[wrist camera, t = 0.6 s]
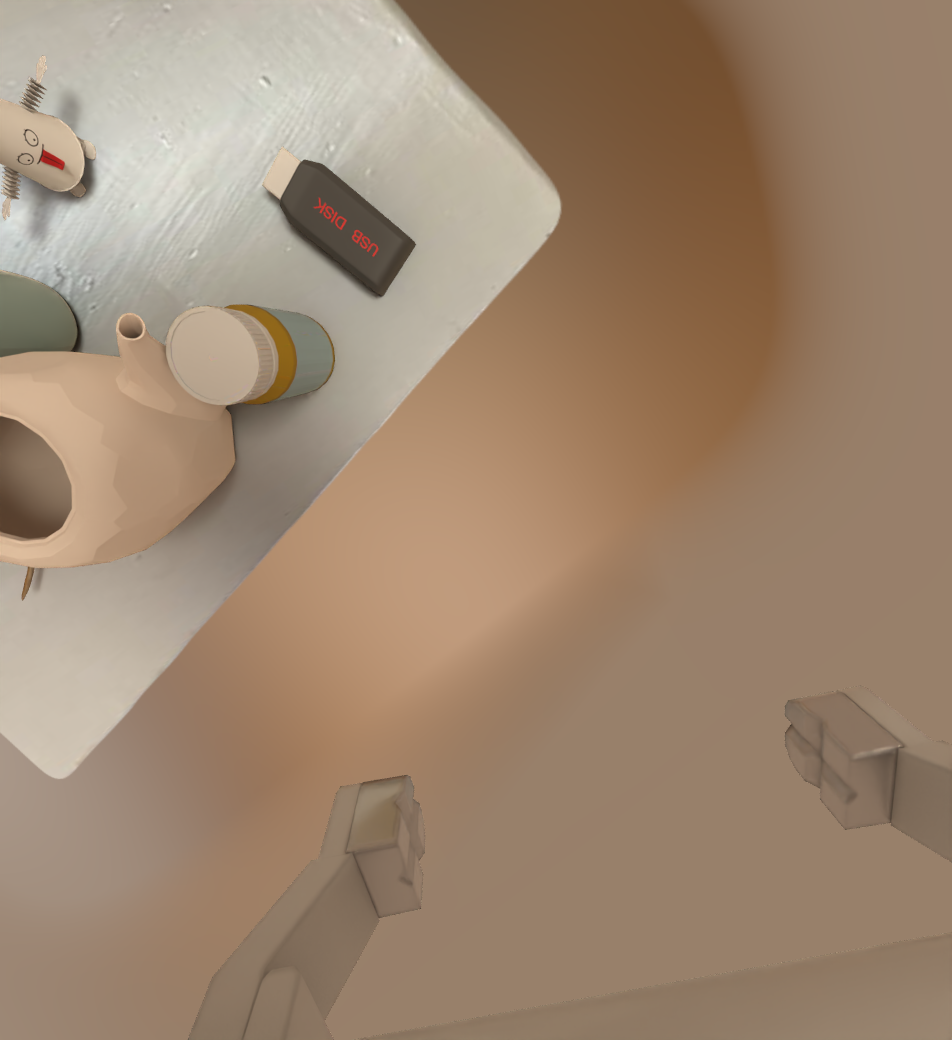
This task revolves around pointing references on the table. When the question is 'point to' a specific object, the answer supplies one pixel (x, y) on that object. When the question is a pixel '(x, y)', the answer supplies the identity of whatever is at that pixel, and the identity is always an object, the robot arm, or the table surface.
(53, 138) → the toy figure
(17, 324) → the cup
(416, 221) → the table surface
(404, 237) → the usb drive
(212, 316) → the bottle
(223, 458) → the watering can
